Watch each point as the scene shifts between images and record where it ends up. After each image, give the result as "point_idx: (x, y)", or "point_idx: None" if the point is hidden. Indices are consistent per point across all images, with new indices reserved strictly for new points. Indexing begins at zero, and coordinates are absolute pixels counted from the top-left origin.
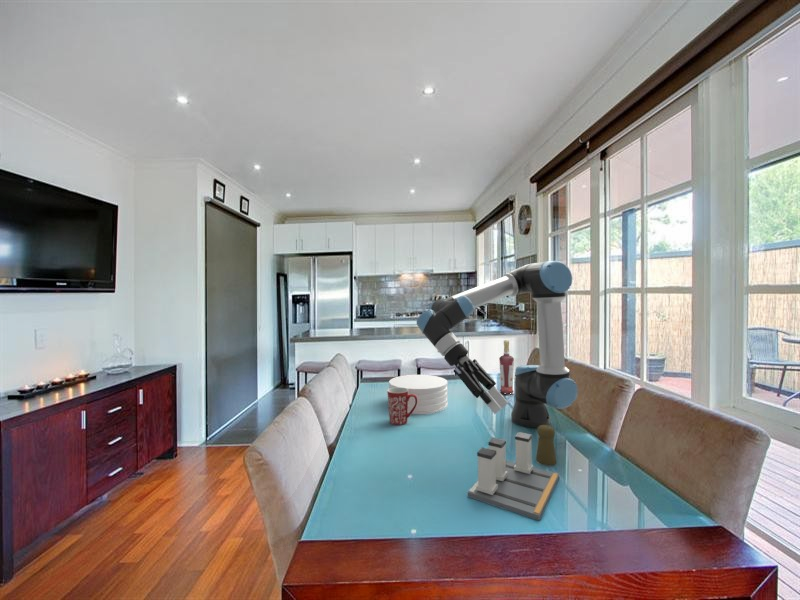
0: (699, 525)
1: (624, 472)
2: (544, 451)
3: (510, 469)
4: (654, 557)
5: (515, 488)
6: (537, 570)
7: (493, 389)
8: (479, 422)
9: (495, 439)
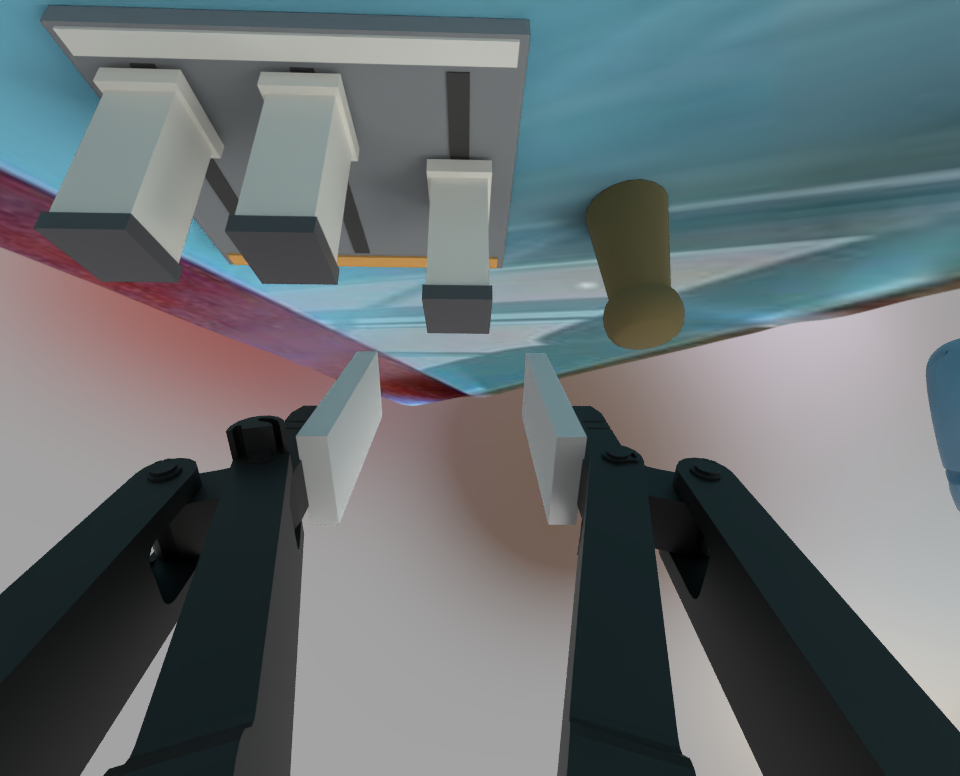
0: (454, 386)
1: (609, 340)
2: (598, 254)
3: (435, 136)
4: (319, 361)
5: None
6: (75, 273)
7: (547, 488)
8: None
9: (297, 249)
